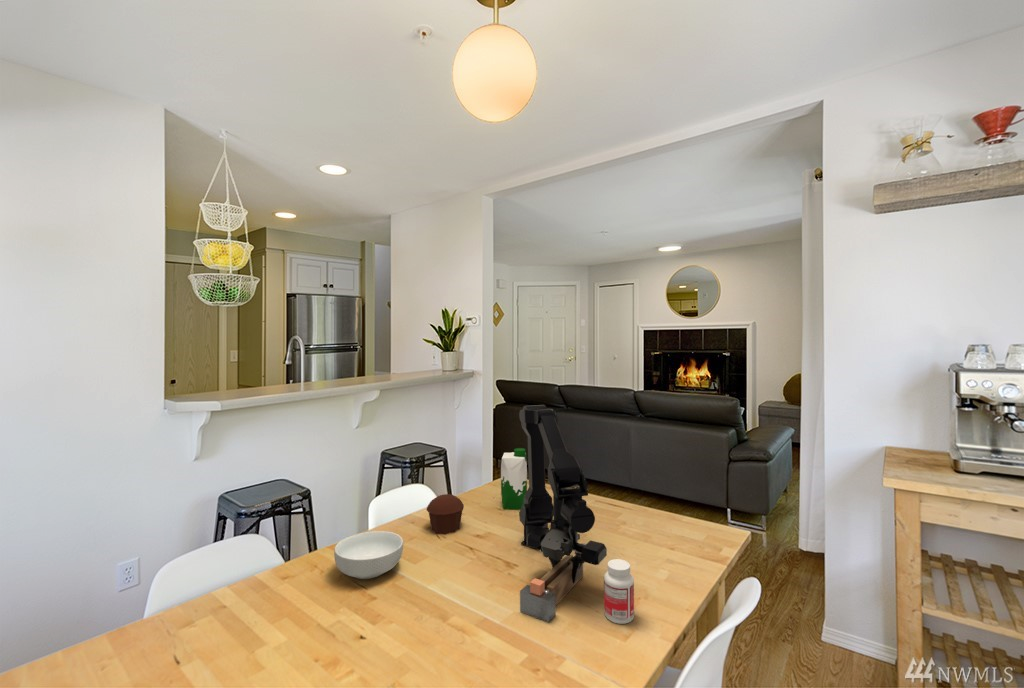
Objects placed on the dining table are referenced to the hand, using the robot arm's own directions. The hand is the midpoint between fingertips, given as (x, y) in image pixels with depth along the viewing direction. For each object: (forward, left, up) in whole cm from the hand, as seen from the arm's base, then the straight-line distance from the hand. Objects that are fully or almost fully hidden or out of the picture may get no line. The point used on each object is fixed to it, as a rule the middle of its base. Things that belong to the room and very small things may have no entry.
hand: (565, 579), depth 109 cm
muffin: (-46, +9, -1) cm, 47 cm away
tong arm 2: (+1, -3, -1) cm, 3 cm away
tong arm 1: (-1, -3, -1) cm, 3 cm away
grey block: (0, -14, -1) cm, 14 cm away
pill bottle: (+15, -5, -1) cm, 16 cm away
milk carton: (-38, +36, -1) cm, 52 cm away
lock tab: (0, -14, +3) cm, 14 cm away
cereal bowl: (-45, -21, -1) cm, 50 cm away
